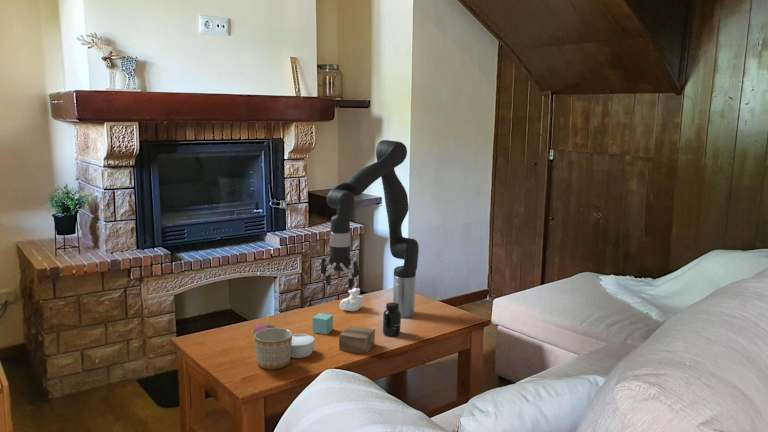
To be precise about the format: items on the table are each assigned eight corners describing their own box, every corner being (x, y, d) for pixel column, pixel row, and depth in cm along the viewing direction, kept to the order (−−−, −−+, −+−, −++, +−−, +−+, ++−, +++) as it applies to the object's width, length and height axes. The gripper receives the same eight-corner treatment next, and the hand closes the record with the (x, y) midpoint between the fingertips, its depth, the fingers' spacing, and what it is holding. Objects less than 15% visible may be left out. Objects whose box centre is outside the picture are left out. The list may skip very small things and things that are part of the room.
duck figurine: (341, 317, 258) (350, 302, 251) (333, 303, 262) (342, 287, 255) (364, 312, 265) (373, 297, 258) (356, 298, 269) (365, 283, 262)
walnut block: (349, 340, 227) (349, 325, 226) (374, 344, 224) (374, 329, 223) (339, 350, 218) (339, 334, 217) (365, 354, 215) (365, 338, 214)
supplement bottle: (398, 337, 231) (399, 307, 229) (381, 336, 232) (381, 306, 230) (401, 331, 238) (402, 302, 235) (384, 329, 239) (385, 300, 237)
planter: (248, 361, 207) (248, 332, 205) (282, 353, 214) (282, 325, 212) (264, 374, 197) (263, 344, 195) (298, 365, 204) (298, 336, 202)
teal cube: (318, 327, 240) (319, 312, 239) (332, 329, 238) (333, 314, 237) (312, 332, 235) (312, 317, 233) (326, 334, 233) (326, 319, 232)
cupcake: (280, 340, 226) (280, 309, 224) (268, 348, 218) (268, 316, 216) (260, 337, 229) (259, 306, 226) (248, 345, 221) (247, 313, 219)
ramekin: (313, 346, 221) (313, 332, 220) (316, 358, 210) (316, 344, 209) (282, 348, 219) (281, 334, 218) (283, 360, 208) (283, 346, 207)
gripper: (361, 243, 223) (361, 285, 226) (325, 240, 227) (325, 281, 230) (355, 247, 216) (354, 291, 219) (318, 244, 220) (318, 287, 223)
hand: (339, 286), depth 225 cm, fingers open, 8 cm apart
